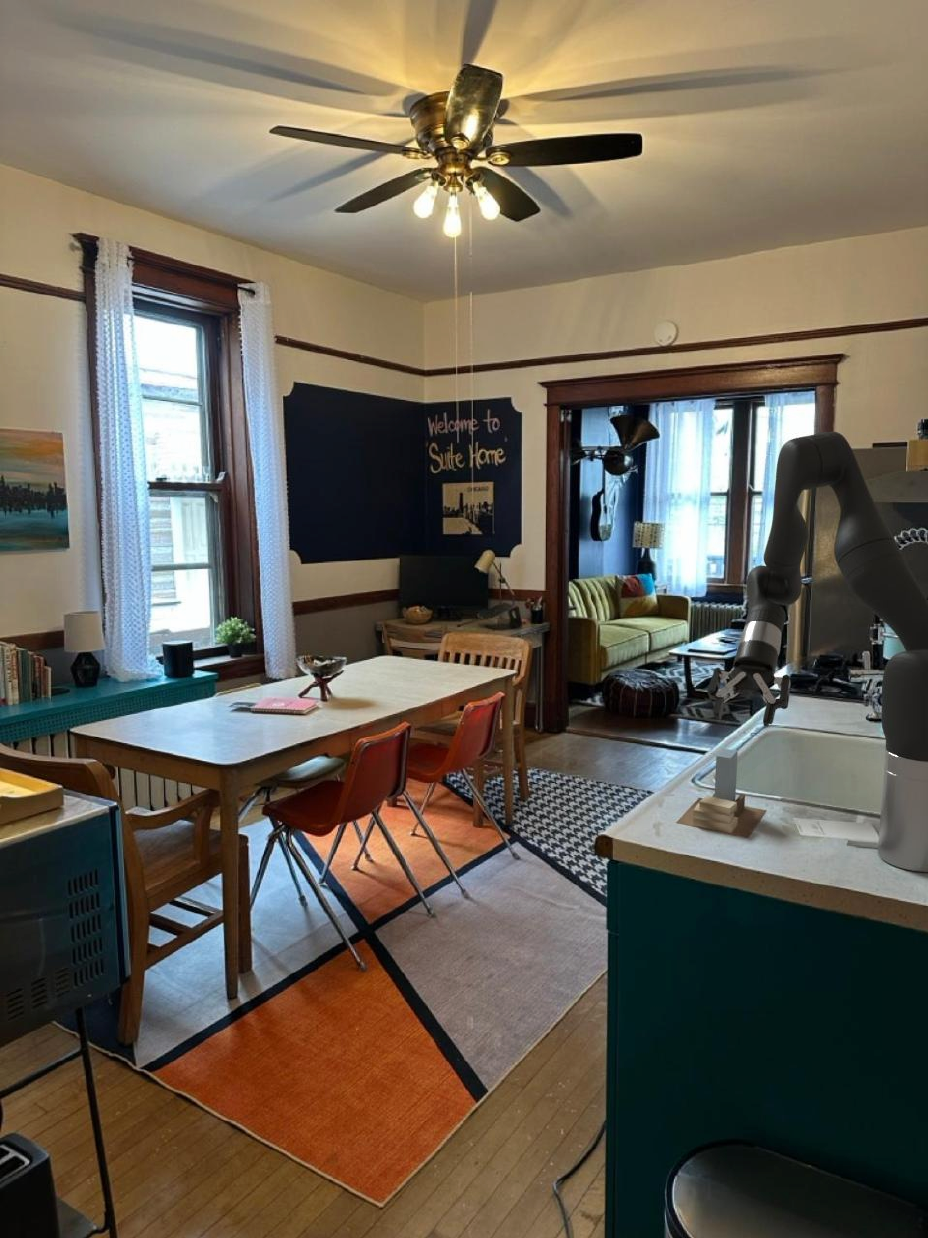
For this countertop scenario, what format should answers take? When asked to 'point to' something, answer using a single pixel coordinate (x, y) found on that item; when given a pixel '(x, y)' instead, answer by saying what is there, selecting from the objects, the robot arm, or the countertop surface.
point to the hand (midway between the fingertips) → (741, 721)
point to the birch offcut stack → (715, 814)
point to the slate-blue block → (726, 775)
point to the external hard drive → (840, 831)
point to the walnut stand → (745, 815)
